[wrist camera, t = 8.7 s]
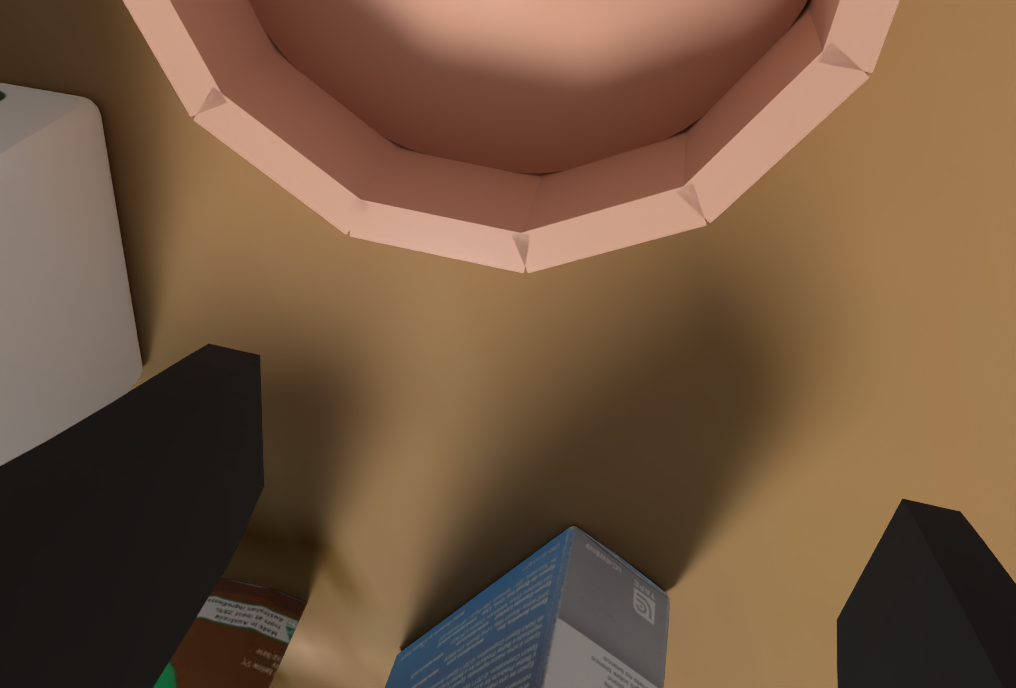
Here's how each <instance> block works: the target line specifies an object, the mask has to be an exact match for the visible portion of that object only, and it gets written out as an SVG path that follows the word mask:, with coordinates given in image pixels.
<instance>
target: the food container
mask: <svg viewBox="0 0 1016 688" xmlns="http://www.w3.org/2000/svg"><path fill="white" fill-rule="evenodd" d="M306 605H307V603H306V602H304V601H301V600H299V599H296V598H294V597H291V596H289V595H286V594H284V593H281V592H279V591H277V590H274V589H271V588H266V587H261V586H257V585H252V584H247V583H243V582H238V581H233V580H229V579H219V581H218V583H217V584H216V586H215V588H214V589H213V591H212V593H211V594H210V596H209V597H208V599H207V601H206V602H205V604H204V606H203V607H202V609H201V611H200V612H199V614H198V616H197V617H196V619H195V621H194V622H193V624H192V625H191V627H190V629H189V630H188V632H187V634H186V635H185V637H184V638H183V640H182V642H181V643H180V645H179V647H178V648H177V650H176V651H175V653H174V655H173V656H172V658H171V659H170V661H169V663H168V664H167V666H166V668H165V669H164V671H163V672H162V674H161V676H160V677H159V679H158V681H157V682H156V684H155V685H154V687H153V688H269V687H270V685H271V682H272V680H273V678H274V676H275V674H276V671H277V669H278V667H279V665H280V662H281V660H282V658H283V656H284V654H285V651H286V649H287V647H288V645H289V642H290V640H291V638H292V636H293V634H294V631H295V629H296V627H297V625H298V622H299V620H300V618H301V616H302V614H303V611H304V609H305V607H306Z"/></svg>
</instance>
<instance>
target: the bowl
mask: <svg viewBox="0 0 1016 688" xmlns="http://www.w3.org/2000/svg"><path fill="white" fill-rule="evenodd" d="M123 2H124V3H125V5H126V7H127V9H128V10H129V12H130V14H131V15H132V17H133V19H134V21H135V22H136V24H137V26H138V28H139V29H140V31H141V33H142V34H143V36H144V38H145V40H146V41H147V43H148V45H149V46H150V48H151V50H152V52H153V53H154V55H155V57H156V58H157V60H158V62H159V64H160V65H161V67H162V69H163V70H164V72H165V74H166V76H167V77H168V79H169V81H170V83H171V84H172V86H173V88H174V89H175V91H176V93H177V95H178V96H179V98H180V100H181V101H182V103H183V105H184V107H185V108H186V110H187V112H188V113H189V115H190V117H191V116H194V115H196V114H197V115H196V117H195V118H194V121H195V122H197V123H198V124H199V125H201V126H202V127H203V128H205V129H206V130H207V131H209V132H210V133H211V134H213V135H214V136H215V137H217V138H218V139H219V140H221V141H222V142H223V143H225V144H226V145H227V146H229V147H230V148H231V149H233V150H234V151H235V152H237V153H238V154H239V155H241V156H242V157H243V158H245V159H246V160H247V161H249V162H250V163H251V164H253V165H254V166H255V167H257V168H258V169H259V170H261V171H262V172H263V173H265V174H266V175H267V176H269V177H270V178H271V179H273V180H274V181H275V182H277V183H278V184H279V185H281V186H282V187H283V188H285V189H286V190H287V191H289V192H290V193H291V194H293V195H294V196H295V197H297V198H298V199H299V200H301V201H302V202H303V203H305V204H306V205H307V206H309V207H310V208H311V209H313V210H314V211H315V212H317V213H318V214H319V215H321V216H322V217H323V218H325V219H326V220H327V221H329V222H330V223H331V224H333V225H334V226H335V227H337V228H338V229H339V230H341V231H342V232H343V233H345V234H347V233H348V232H349V231H350V237H355V238H360V239H364V240H369V241H374V242H378V243H383V244H388V245H393V246H397V247H402V248H407V249H412V250H416V251H421V252H426V253H430V254H435V255H440V256H445V257H449V258H454V259H459V260H463V261H468V262H473V263H478V264H482V265H487V266H492V267H496V268H501V269H506V270H511V271H515V272H520V273H524V272H525V269H526V270H527V272H528V273H531V272H534V271H538V270H542V269H546V268H549V267H553V266H557V265H561V264H564V263H568V262H572V261H576V260H579V259H583V258H587V257H590V256H594V255H598V254H602V253H605V252H609V251H613V250H617V249H620V248H624V247H628V246H632V245H635V244H639V243H643V242H646V241H650V240H654V239H658V238H661V237H665V236H669V235H673V234H676V233H680V232H684V231H688V230H691V229H695V228H699V227H702V226H706V225H707V221H708V222H710V223H711V222H712V221H714V220H715V219H716V218H717V217H718V216H719V215H720V214H721V213H722V212H723V211H724V210H726V209H727V208H728V207H729V206H730V205H731V204H732V203H733V202H734V201H735V200H736V199H738V198H739V197H740V196H741V195H742V194H743V193H744V192H745V191H746V190H747V189H748V188H749V187H751V186H752V185H753V184H754V183H755V182H756V181H757V180H758V179H759V178H760V177H761V176H763V175H764V174H765V173H766V172H767V171H768V170H769V169H770V168H771V167H772V166H773V165H775V164H776V163H777V162H778V161H779V160H780V159H781V158H782V157H783V156H784V155H785V154H787V153H788V152H789V151H790V150H791V149H792V148H793V147H794V146H795V145H796V144H797V143H799V142H800V141H801V140H802V139H803V138H804V137H805V136H806V135H807V134H808V133H809V132H810V131H812V130H813V129H814V128H815V127H816V126H817V125H818V124H819V123H820V122H821V121H822V120H824V119H825V118H826V117H827V116H828V115H829V114H830V113H831V112H832V111H833V110H834V109H836V108H837V107H838V106H839V105H840V104H841V103H842V102H843V101H844V100H845V99H846V98H848V97H849V96H850V95H851V94H852V93H853V92H854V91H855V90H856V89H857V88H858V87H860V86H861V85H862V84H863V83H864V82H865V81H866V80H867V79H868V78H869V75H868V73H867V72H871V73H873V70H874V68H875V65H876V62H877V60H878V57H879V54H880V52H881V49H882V46H883V43H884V41H885V38H886V35H887V33H888V30H889V27H890V25H891V22H892V19H893V17H894V14H895V11H896V8H897V6H898V3H899V0H123Z"/></svg>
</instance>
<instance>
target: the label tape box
mask: <svg viewBox="0 0 1016 688" xmlns="http://www.w3.org/2000/svg"><path fill="white" fill-rule="evenodd" d="M669 610H670V598H669V596H668V595H667V594H666V593H665V592H664V591H662V590H661V589H660V588H659V587H658V586H656V585H655V584H654V583H652V582H651V581H650V580H649V579H647V578H646V577H645V576H644V575H643V574H641V573H640V572H639V571H637V570H636V569H635V568H633V567H632V566H631V565H629V564H628V563H627V562H626V561H624V560H623V559H622V558H621V557H619V556H618V555H616V554H615V553H614V552H612V551H611V550H609V549H608V548H606V547H605V546H604V545H602V544H600V543H599V542H597V541H596V540H595V539H593V538H592V537H591V536H589V535H588V534H586V533H585V532H583V531H582V530H580V529H579V528H577V527H575V526H571V527H569V528H568V529H566V530H565V531H564V532H563V533H561V534H560V535H558V536H557V537H556V538H554V539H553V540H551V541H550V542H549V543H547V544H546V545H545V546H543V547H542V548H541V549H539V550H538V551H536V552H535V553H534V554H532V555H531V556H530V557H528V558H527V559H526V560H524V561H523V562H522V563H520V564H519V565H517V566H516V567H515V568H513V569H512V570H511V571H509V572H508V573H507V574H505V575H504V576H503V577H501V578H500V579H498V580H497V581H496V582H494V583H493V584H492V585H490V586H489V587H488V588H486V589H485V590H483V591H482V592H481V593H479V594H478V595H477V596H475V597H474V598H473V599H471V600H470V601H469V602H467V603H466V604H465V605H463V606H462V607H461V608H459V609H458V610H457V611H455V612H454V613H453V614H451V615H450V616H449V617H447V618H446V619H445V620H443V621H442V622H441V623H439V624H438V625H436V626H435V627H434V628H432V629H431V630H430V631H428V632H427V633H426V634H424V635H423V636H422V637H420V638H419V639H417V640H416V641H415V642H413V643H412V644H411V645H410V646H408V647H407V648H406V649H404V650H403V651H402V652H400V653H399V654H398V655H397V656H396V659H395V662H394V665H393V668H392V670H391V673H390V676H389V678H388V681H387V683H386V686H385V688H664V678H665V664H666V652H667V637H668V625H669Z"/></svg>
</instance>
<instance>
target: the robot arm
mask: <svg viewBox="0 0 1016 688" xmlns="http://www.w3.org/2000/svg"><path fill="white" fill-rule="evenodd" d="M263 487H264V470H263V438H262V406H261V375H260V355H257V354H252V353H248V352H243V351H239V350H234V349H230V348H225V347H221V346H216V345H212V344H208V345H206V346H204V347H202V348H201V349H199V350H197V351H195V352H194V353H192V354H190V355H189V356H187V357H185V358H184V359H182V360H180V361H179V362H177V363H175V364H174V365H172V366H170V367H169V368H167V369H166V370H164V371H162V372H161V373H159V374H157V375H156V376H154V377H153V378H151V379H149V380H148V381H146V382H144V383H143V384H141V385H140V386H138V387H136V388H135V389H133V390H131V391H130V392H128V393H127V394H125V395H123V396H122V397H120V398H118V399H117V400H115V401H113V402H112V403H110V404H108V405H107V406H105V407H103V408H102V409H100V410H98V411H96V412H95V413H93V414H91V415H90V416H88V417H86V418H85V419H83V420H81V421H80V422H78V423H76V424H75V425H73V426H71V427H69V428H68V429H66V430H64V431H63V432H61V433H59V434H58V435H56V436H54V437H53V438H51V439H49V440H47V441H46V442H44V443H42V444H40V445H38V446H36V447H34V448H33V449H31V450H29V451H27V452H25V453H23V454H21V455H20V456H18V457H16V458H14V459H12V460H10V461H8V462H7V463H5V464H3V465H1V466H0V688H153V687H154V685H155V684H156V682H157V681H158V679H159V677H160V676H161V674H162V672H163V671H164V669H165V668H166V666H167V664H168V663H169V661H170V659H171V658H172V656H173V655H174V653H175V651H176V650H177V648H178V647H179V645H180V643H181V642H182V640H183V638H184V637H185V635H186V634H187V632H188V630H189V629H190V627H191V625H192V624H193V622H194V621H195V619H196V617H197V616H198V614H199V612H200V611H201V609H202V607H203V606H204V604H205V602H206V601H207V599H208V597H209V596H210V594H211V593H212V591H213V589H214V588H215V586H216V584H217V583H218V581H219V579H220V578H221V576H222V574H223V573H224V571H225V569H226V567H227V566H228V564H229V562H230V560H231V558H232V556H233V554H234V552H235V550H236V547H237V545H238V543H239V541H240V539H241V537H242V535H243V532H244V530H245V528H246V526H247V524H248V521H249V519H250V517H251V514H252V512H253V510H254V508H255V505H256V503H257V501H258V498H259V496H260V494H261V491H262V489H263ZM837 675H838V688H1016V584H1015V582H1014V581H1013V580H1012V578H1011V577H1010V576H1009V574H1008V573H1007V572H1006V570H1005V569H1004V568H1003V566H1002V565H1001V564H1000V562H999V561H998V560H997V558H996V557H995V556H994V554H993V553H992V552H991V550H990V549H989V548H988V546H987V545H986V544H985V542H984V541H983V540H982V538H981V537H980V536H979V535H978V533H977V532H976V531H975V529H974V528H973V527H972V526H971V524H970V523H969V522H968V521H967V519H966V518H965V517H964V516H963V514H962V513H961V512H960V511H955V510H951V509H946V508H942V507H937V506H933V505H928V504H924V503H919V502H915V501H910V500H906V499H902V501H901V502H900V504H899V506H898V508H897V510H896V512H895V513H894V515H893V517H892V519H891V521H890V523H889V525H888V526H887V528H886V530H885V532H884V534H883V536H882V538H881V539H880V541H879V543H878V545H877V547H876V549H875V550H874V552H873V554H872V556H871V558H870V560H869V562H868V563H867V565H866V567H865V569H864V571H863V573H862V574H861V576H860V578H859V580H858V582H857V584H856V586H855V587H854V589H853V591H852V593H851V595H850V597H849V599H848V600H847V602H846V604H845V606H844V608H843V610H842V611H841V613H840V615H839V617H838V619H837Z"/></svg>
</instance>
